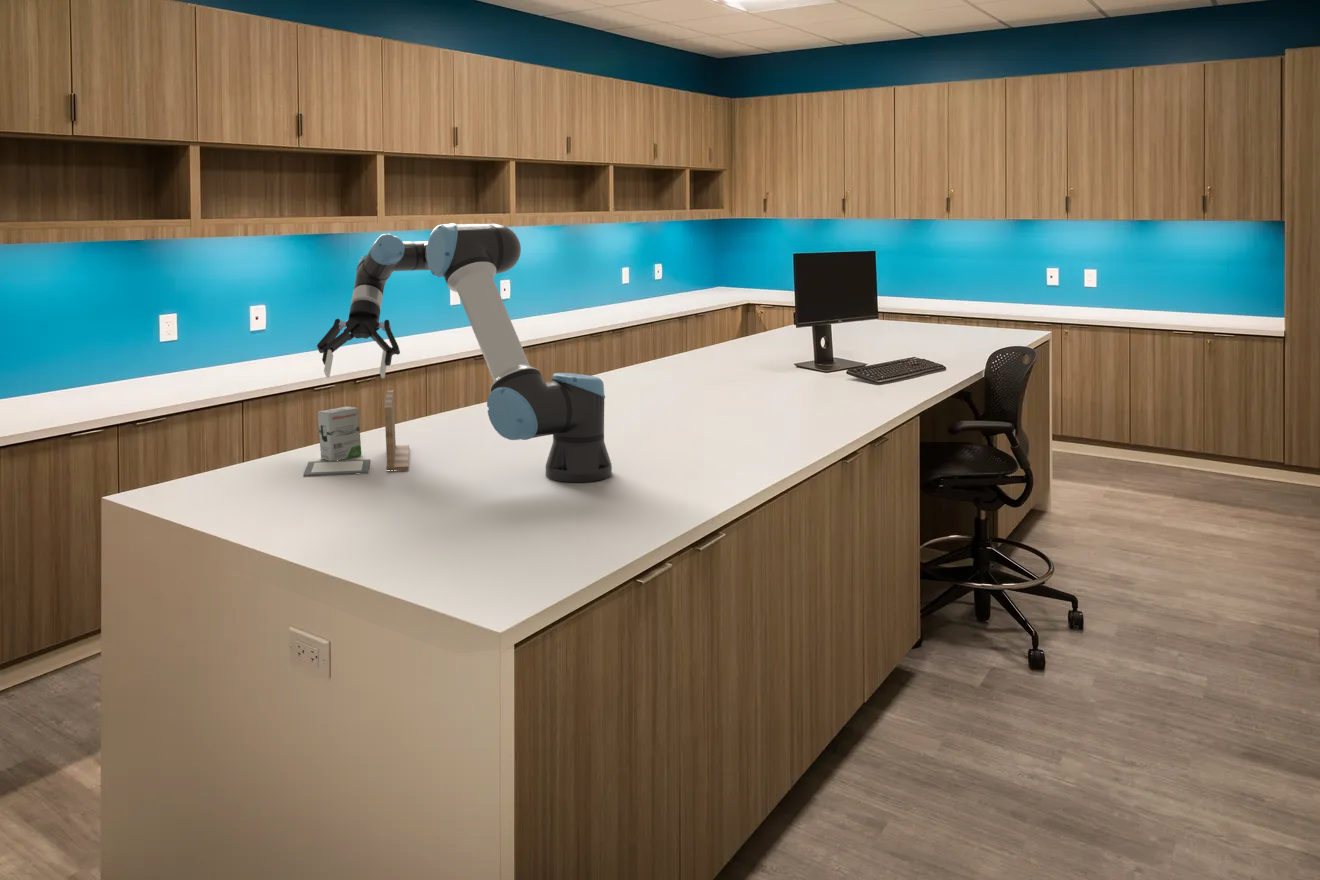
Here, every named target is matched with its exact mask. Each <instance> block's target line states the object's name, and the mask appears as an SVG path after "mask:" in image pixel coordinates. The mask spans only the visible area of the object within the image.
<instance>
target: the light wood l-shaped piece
mask: <svg viewBox="0 0 1320 880" xmlns="http://www.w3.org/2000/svg"><path fill="white" fill-rule="evenodd" d="M394 399H395V398H394V390H393V389H392V390H391V389H390V390H386V395H385V400H384V401H385V402H384V406H383V407H384V425H385V429H384V430H385V447H386V466H385V470H390V471H391V470H393V471H391V472H395V471H394V470H410V444H400V445H399V444H397V443H396V440H397V439H396V421H395V400H394Z"/></svg>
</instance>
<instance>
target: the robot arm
mask: <svg viewBox="0 0 1320 880" xmlns="http://www.w3.org/2000/svg"><path fill="white" fill-rule="evenodd" d="M521 250H522V247H521V243H520V239H519V238H518V235H516V233H515V232H514V231H513V230H512V229H510V228H509V227H508V226H505V225H502V224H499V223H458V224H457V223H455V222H451V223H443V224H438V225H437V226H435V227H434V228H433V230H432V231H431V233H430V235H429V237H428V240H421V241H402V239H401V238H400V237H398V236H397V235H393V234H391V233H384V234H381V235H380V236H378V237H377V239H375V240H374V242H373V243H372V245H371V246H370V249H369V251H368V253H367V254H366V255H363V256H361V257H360V259H359V260H358V265H357V267H356V274H355V280H354V286H353V292H352V297H351V302H350V303H351V305H350V308H349V313H348V319H347V320H346V321H341V320H340V319H339V318H335V320H334V322H333V325H332V327H331V328H329V330H328V332H326V334H325V335H323V337H322V338H321V340H320V341H319V342H318V343H317V345H316V347H317V350H318V352H319V354H322V358H321V360H322V364H323V365H324V369H323V372H324V375H325V377H326V378H330V376H331V370H332V365H333V361H334V354H333V353H334V352H336V351H337V350H338V349H339V348H340V347H342V346H343V345H344V344H346V343H347V342H348V341H351V340H353V339H354V338H355V339H368V338H371V339H372V340H373V341H374V342H376V344H377V346H379V347H380V349H382V352H381V353H382V355H381V361H380V368H379V374H380V378H381V379H385V377H386V372H387V371H386V370H387V367H389V366H391V364H392V359H393V356H395V355H397V356H398V355H400V354H401V350H400V346H399V344H398V343H397V340H396V338H395V336H394V334H393V332H392V326H391V323H390V320H389V319H385V320H384V322H383V321H382V322H381V321H380V316H381V309H382V305H383V297H384V291H385V286H386V283H387V282H388V279H389V278H390V277H391V275H392V273H393V272H402V271H403V272H406V271H407V272H408V271H409V272H410V271H430V273H431V274H432V275H433V276H435V277H438V278H444V280H445V283H446V285H447V287H448V289H449V290H450V291H453V292H455V293H457V294H458V296H459V300H460V301H461V304H462V306H463V308H464V311H465V314H466V316H467V318H468V321H469V324H470V326H471V328H472V331H473V333H474V335H475V339H476V340H477V343H478V346H479V348H480V351H481V354H482V355H483V358H484V360H485V362H486V365H487V369H489V373H490V374H491V378H492V380H493V382H492V384H491V386H490V389H489V390H490V393H489V395H488V398H487V400H486V407H487V408H488V410H487V416H488V418H489V421H490V423H491V425H492V427H493V429H494V430H495V431H496V432H497V434H499V435H500V436H501V437H502V438H504V439H507V440H509V441H520V440H522V441H525V440H530V439H534V438H539V437H544V436H545V437H546V436H551V435H552V443H551V444H552V445H551V447H550V450H549V453H548V456H547V459H546V463H545V476H546V477H547V478H549V479H551V480H553V481H558V482H565V483H590V482H597V481H603V480H606V479H608V478H610V477H611V476H612V475H613V472H612V471H613V466H612V462H611V458H610V456H609V452H608V449H607V446H606V442H605V399H606V395H605V385H604V381H603V380H602V379H601V378H599V377H597V376H593V375H586V374H581V373H580V374H579V373H573V372H572V373H571V372H555V373H553V374H552V377H551V381H546V382H545V380H544V378H543V375H542V374H541V371H540V370H539V369H538V368H536V367H533V366H531V365H530V362H529V360H528V358H527V355H526V353H525V350H524V348H523V345H522V344H521V342H520V339H519V336H518V335H517V332H516V330H515V327H514V325H513V322H512V320H511V318H510V315H509V313H508V310H507V307H506V306H505V304H504V301H503V298H502V296H501V293H500V292H499V289H498V287H497V284H496V282H495V280H494V278H495V276H496V275H497V274H502V273H505V272H507V271H510V270H511V269H512V268H513V267H514V266H515V265H516V264H517V263H518V261H519V259H520V256H521V253H522V251H521ZM380 329H381V330H382V331H383V332H385V334H386V336H387V338H388V341H389V343H390V344H391V345H389V344H388V343H387V342H386V341H385V340H384V339H383V338H382V336H381V335H380V334H379V333H378V330H380ZM341 331H342V332H341ZM340 332H341V333H340Z"/></svg>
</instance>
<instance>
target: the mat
mask: <svg viewBox="0 0 1320 880" xmlns="http://www.w3.org/2000/svg"><path fill="white" fill-rule="evenodd" d="M306 464H307V465H306V466H305V470H304V471H303V477H316V476H315V475H323V476H341V475H340V474H347V475H357V474H356V473H368V474H369V471H368V470H370V465H371V459H370V458H369V459H368V458H367V459H366V458H365V459H342V460H338V461H328V460H319V461H308V462H307V463H306ZM369 464H370V465H369Z"/></svg>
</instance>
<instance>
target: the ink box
mask: <svg viewBox="0 0 1320 880" xmlns="http://www.w3.org/2000/svg"><path fill="white" fill-rule="evenodd" d="M317 421H318V423H317V425H318V434H319V449H320V450H319V451H320V459H321V458H322V459H321V460H324V459H325V460H324V461H328V460H329V461H337V460H338V461H339V460H341V459H342V460H347V459H350V458H354V457H355V456H356V457H359V455H360V456H362V445H361V444H362V443H361V442H362V441H361V429H360V413H359V409H358V408H357V407H354V406H342V407H336V408H330V409H326V410H318V411H317ZM346 458H347V459H346Z"/></svg>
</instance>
